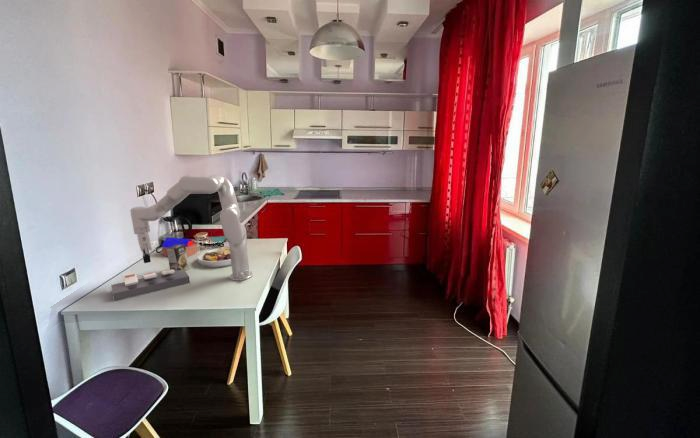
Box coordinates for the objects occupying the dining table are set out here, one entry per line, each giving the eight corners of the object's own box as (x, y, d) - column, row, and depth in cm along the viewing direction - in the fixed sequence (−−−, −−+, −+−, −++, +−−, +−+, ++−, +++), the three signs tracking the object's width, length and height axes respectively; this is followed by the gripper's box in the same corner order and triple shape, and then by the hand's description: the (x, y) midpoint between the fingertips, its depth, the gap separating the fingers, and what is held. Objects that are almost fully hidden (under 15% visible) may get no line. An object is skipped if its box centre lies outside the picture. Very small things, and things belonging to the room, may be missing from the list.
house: (175, 250, 266) (173, 235, 264) (198, 252, 260) (196, 236, 257) (162, 256, 255) (160, 239, 253) (186, 258, 249) (183, 241, 246)
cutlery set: (229, 237, 295) (229, 235, 295) (221, 249, 267) (220, 246, 266) (204, 239, 294) (203, 236, 293) (192, 251, 265) (192, 248, 264)
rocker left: (138, 284, 196) (138, 281, 195) (125, 287, 193) (125, 284, 192) (136, 276, 202) (136, 273, 201) (123, 279, 199) (123, 276, 198)
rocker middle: (157, 278, 201) (156, 274, 200) (144, 280, 197) (144, 276, 197) (155, 275, 207) (154, 272, 207) (143, 278, 204) (142, 274, 204)
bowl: (191, 261, 243) (190, 249, 241) (234, 250, 262) (233, 240, 260) (209, 272, 221) (207, 260, 219) (255, 260, 240) (253, 248, 239)
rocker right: (175, 273, 205) (174, 269, 205) (163, 276, 202) (162, 272, 202) (173, 272, 212) (172, 269, 212) (161, 275, 209) (160, 271, 209)
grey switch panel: (190, 283, 206) (189, 275, 205) (114, 301, 186) (112, 293, 185) (184, 275, 217) (183, 268, 216) (112, 291, 197) (111, 284, 196)
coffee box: (179, 274, 219) (175, 248, 215) (170, 274, 220) (166, 248, 216) (189, 269, 227) (185, 244, 224) (179, 268, 229) (176, 243, 225)
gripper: (151, 231, 195) (157, 264, 199) (147, 226, 207) (153, 257, 211) (135, 233, 191) (141, 267, 195) (132, 228, 203) (138, 260, 207)
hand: (147, 262), depth 203 cm, fingers closed
